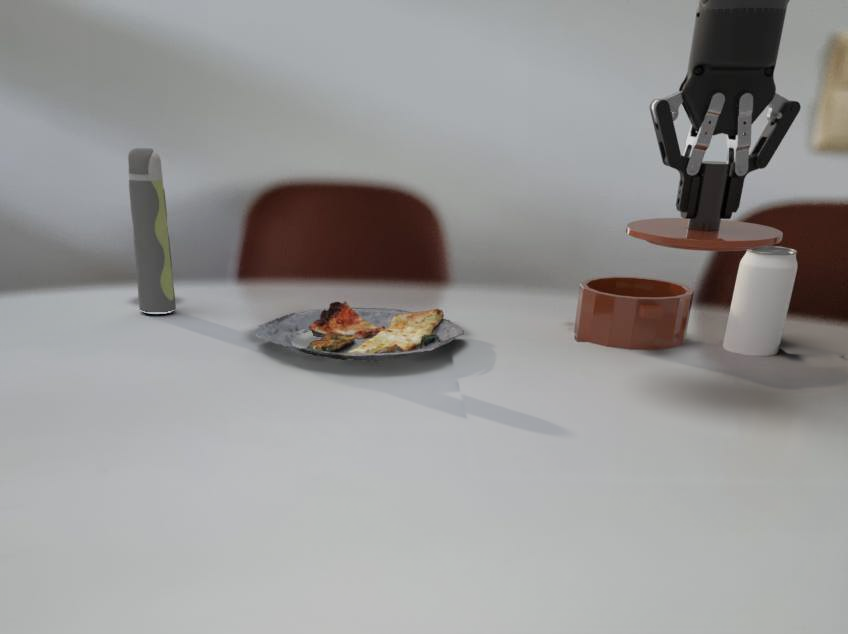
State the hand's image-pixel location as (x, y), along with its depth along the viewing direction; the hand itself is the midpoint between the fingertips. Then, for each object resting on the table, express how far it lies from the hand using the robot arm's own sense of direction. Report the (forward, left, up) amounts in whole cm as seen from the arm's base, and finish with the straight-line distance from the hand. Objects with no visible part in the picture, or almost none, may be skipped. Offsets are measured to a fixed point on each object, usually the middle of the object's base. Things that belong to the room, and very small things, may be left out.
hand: (705, 216), depth 94 cm
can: (-14, -19, -18) cm, 30 cm away
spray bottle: (+61, -34, -18) cm, 72 cm away
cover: (0, 0, -2) cm, 2 cm away
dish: (-1, -24, -18) cm, 30 cm away
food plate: (+33, -18, -18) cm, 42 cm away
